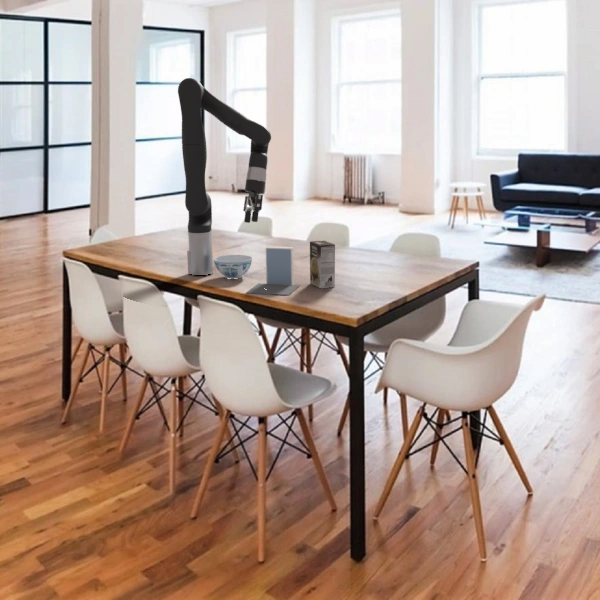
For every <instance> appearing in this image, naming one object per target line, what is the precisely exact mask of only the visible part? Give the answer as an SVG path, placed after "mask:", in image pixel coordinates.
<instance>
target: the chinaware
mask: <svg viewBox="0 0 600 600" xmlns="http://www.w3.org/2000/svg"><path fill="white" fill-rule="evenodd" d="M252 262H253V257H252V256H250V255H244V254H225V255H219V256H216V257H213V264H214V266H215V268H216V270H217V271H218V272H219V273H220V274H221V275H223V276H224V278H225V279H226V278H231V279H234V278H241V277H242V278H243V276H244V275H245V274H247V272H248V271H249V269H250V268H251V266H252ZM242 278H241V279H242Z"/></svg>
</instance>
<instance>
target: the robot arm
mask: <svg viewBox="0 0 600 600" xmlns="http://www.w3.org/2000/svg"><path fill="white" fill-rule="evenodd" d="M177 94H178V99H179V106H180V111H181V146H182V147H181V151H182V159H183V160H182V161H183V169H184V176H185V197H184V198H185V199H184V203H185V207H186V211H187V212H188V223H187V238H188V250H187V251H186V255H187V259H186V260H187V275H188V274H192V275H191V276H194V275H206V276H209V275H208V274H211V275H213V274H214V256H213V237H212V224H213V223H212V222H213V218H212V217H213V216H212V215H213V211H212V208H213V207H212V199H211V196H210V194H208V193H207V191H206V181H205V177H206V171H207V170H206V168H207V157H208V154H207V151H208V150H207V140H206V139H207V138H206V133H205V128H204V123H203V119H202V110H204V111H206V112H208V113H209V114H210V115H212V116H213V117H215V118H216V119H217V120H219V121H220V122H221V123H222V124H223V125H224V126H226V127H228V128H229V130H230V129H231V130H232V131H234V133H236V134H238V135H240V136H244V137H246V138H248V139H249V140H250V155H249V160H248V168H247V171H246V176H245V185H244V186H245V187H244V191H245V192H246V193H248V195H245V197H244V203H243V211H244V223H248V224H249V223H251V222H254V223H257V222H258V221H259V220H258V219H259V213H260V211H262V208H263V207H262V206H263V201H264V198H263V197H264V195H263V194H265V188H266V183H267V182H266V181H267V168H268V167H267V166H268V151H269V144H270V142H271V140H272V134H271V131H269V129H267V128H266V127H265V126H264V125H262V124H259V123H258V122H256V121H253V120H252V119H250V118H248V117H247V116H245V115H244V114H242V113H241V112H240V111H238V110H237V109H235V108H234V107H232V106H230V105H228V104H227V103H226V102H223V101H222V100H221V99H219V98H217V97H216V96H215V95H213V94H212V93H211V92H210V91H208V90H207V88H205V87H204V86H203V85H202V83H201V82H200V81H199V80H198V79H195V78H191V77H188V78H184V79H183V80H182V81H180V82H179V84H178V87H177ZM212 273H213V274H212Z"/></svg>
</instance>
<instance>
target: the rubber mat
mask: <svg viewBox="0 0 600 600" xmlns="http://www.w3.org/2000/svg"><path fill="white" fill-rule="evenodd" d="M299 287H300V285H299V284H293V285H283V284H267V283H257V284H255V285H254V286H253V287H252V288H250V289H249V290H247V291H246V292H245V294H246V293H258V294H257V295H266V294H278V295H277V296H286V295H289V296H290V295H292V294H293V293H294V292H295V291H296V290H297V289H298V288H299ZM264 288H265V289H267V290H265V289H264ZM296 288H297V289H296ZM295 289H296V290H295ZM294 290H295V291H294ZM293 291H294V292H293ZM292 292H293V293H292Z"/></svg>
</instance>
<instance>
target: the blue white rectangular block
mask: <svg viewBox="0 0 600 600" xmlns="http://www.w3.org/2000/svg"><path fill="white" fill-rule="evenodd" d="M294 259H295V258H294V246H293V247H292V246H291V247H290V246H266V247H265V269H266V271H265V274H266V284H283V285H295V272H294V271H295V268H294V266H295V265H294V264H295V263H294Z"/></svg>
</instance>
